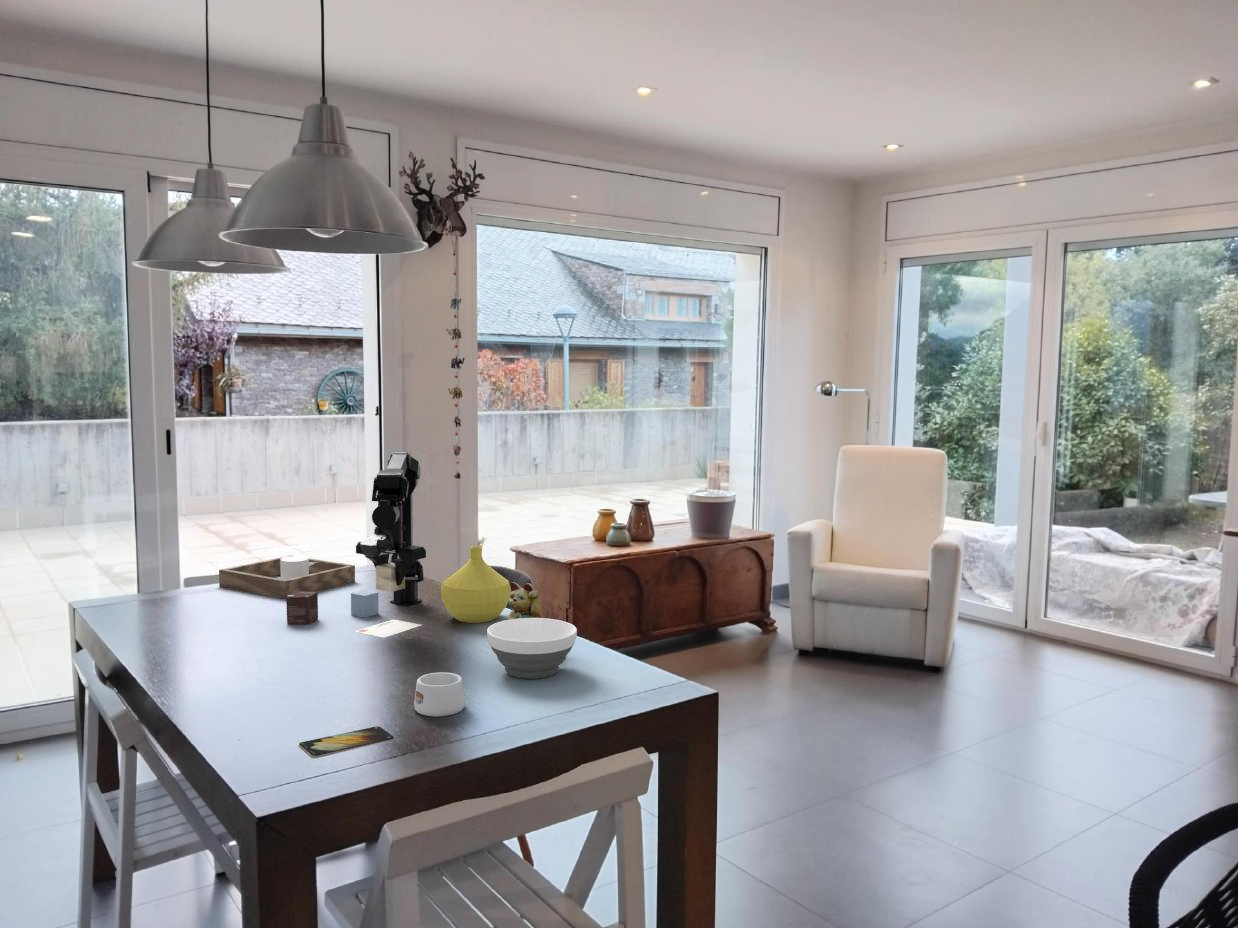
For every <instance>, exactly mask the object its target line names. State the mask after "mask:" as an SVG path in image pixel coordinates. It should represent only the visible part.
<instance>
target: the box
mask: <svg viewBox="0 0 1238 928" xmlns="http://www.w3.org/2000/svg"><path fill="white" fill-rule="evenodd" d="M318 593H319V592H318V591H315V592H301V591H296V592H294V593H292V594H290V595H288V596H287V597H286V599H285V600H286V601H285V602H286V624H287V625H309V626H310V625H311V624H312V623H314V622H315V621H317V620H319V604H318V603H319V598H318Z"/></svg>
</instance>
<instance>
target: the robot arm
mask: <svg viewBox="0 0 1238 928" xmlns="http://www.w3.org/2000/svg"><path fill="white" fill-rule="evenodd" d="M419 480H421V466H420V463H419V460H418V459H416V458H414V457H413V456H412V455H411V453H410V452H408V451H394V452H391V453H390V458H389V459H388V460H387V465H386V469H382V470H379V471H378V472H377V474H376V476H374V478H373V486H372V493H371V494H372V495H371V502H377V507H375V508H374V510H373V511H372V514H371V521H372V522H373V524H374V525H375V526H374V531H373V532H374V533H373V534H372V535H370V536H367V538H365V539H364V540H362V541H358V542H357V543H356V545H355V554H357V555H358V554H359V555H364V557H365V558H366V559H368V560H369V561H371V562H372V564H373V566H374V569H376V566H377V565H381V564H386V563H394V564H395V566H396V583H397V586H399V585H401V583H402V581H403V579H404V577H405V588H404V589H400V590H397V591H393V599H392V600H390V601H389V603H391V604H395V605H400V606H405V607H406V606H411V605H413V604H418V603H420V602H422V601H423V599H421V598H419V597H418V596H419V592H418V591H419V590H418V589H419V586H418V584H419V583H421V582H424V580H425V579H424V575H425V574H424V566H423V565H422V563H421V560H422V559H425V558H427V549H426V548H425V547H424V546H420V545H414V544H413V543H414V542H413V541H414V539H413V538H414V537H413V535H414V534H413V523H414V522H413V493H414V491H415V489H416V488H417V487H418V484H419ZM390 554H391V557H390ZM389 559H390V560H389Z"/></svg>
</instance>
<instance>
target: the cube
mask: <svg viewBox="0 0 1238 928" xmlns="http://www.w3.org/2000/svg"><path fill="white" fill-rule="evenodd" d="M379 601H380V600H379V591H372V590H368V589H363V590H358V591H356V592H351V593H350V615H351V616H354V617H361V618H368V617H371V616H375V615H378V614H379V612H380V611H379V608H380V607H379Z"/></svg>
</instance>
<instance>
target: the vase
mask: <svg viewBox="0 0 1238 928" xmlns="http://www.w3.org/2000/svg"><path fill="white" fill-rule="evenodd" d="M482 548H483V547H482V546H479V545H477V546H475V545H474V546H470V555H469V556H470V557H469V560H467V562H466V563H465V564H464V565H463V566H462V567H461V568H459V569H457V570H456V571H455V572H454V573H453V574H451V575H450V576H449V577H447V578H446V579H444V581H442V583H441V586H440V596H441V600H442V602H443V605H444V608H445V610H446V611H448V613H449V615H450V616H451V617H453V618H454V619H456V620H457V621H459V622H462V623H466V624H467V623H468V624H480V623H481V624H482V623H488V622H492V621H494V620H496V619H497V618H498V617H499V616H500V615H501V614H502V613H503V612H504V610H505V609H506V607H507V606H508V604H509V602H508V599H509V596H510V594H511V592H512V590H511V587H510V581H509V580H508V579H507V578H506V577H504V576H503V575H501V573H499V572H497V571H496V570H495V569H494V568H492V567H491V566H490V565H489V564H487V563H486V562H485V560H484V559H483V553H482V552H483V549H482Z"/></svg>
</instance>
